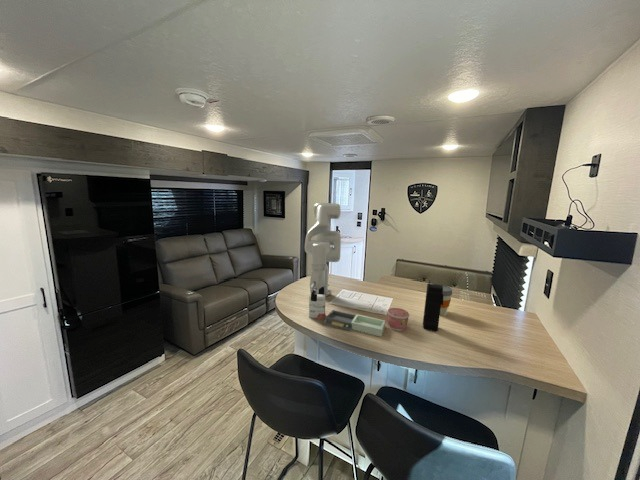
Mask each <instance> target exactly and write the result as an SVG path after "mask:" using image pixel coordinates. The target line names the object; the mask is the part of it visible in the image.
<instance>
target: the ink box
mask: <svg viewBox="0 0 640 480" xmlns="http://www.w3.org/2000/svg"><path fill="white" fill-rule="evenodd" d="M326 297H327V296H326V295H323V294H317V301H316V302H315V301H311V293H309V298H308V317H309V318H313V319H326V299H327V298H326Z"/></svg>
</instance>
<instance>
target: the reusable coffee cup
mask: <svg viewBox="0 0 640 480" xmlns="http://www.w3.org/2000/svg"><path fill="white" fill-rule="evenodd" d="M433 284H434V285H442V286H443V306H442V305H441V309H440V316H445V315H447V311H448V309H449V307H450V304H451V300H452V299H451V297H452V295H453V288H452V287H450V286H448V285H445V284H441V283H433Z"/></svg>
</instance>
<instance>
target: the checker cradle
mask: <svg viewBox="0 0 640 480" xmlns="http://www.w3.org/2000/svg"><path fill="white" fill-rule="evenodd" d="M355 316H356V314H353V313H349V312H344V311H340V310H336V309H332V310H331V311H330V312H329V313H328V314H327V315H326V316H325V321H324V323H323V325H324V326H327V327H328V326H329V327H332V328H336V329H341V330H344V331H349V332H351V331H352V324H351V322H352V320H353V319H354V317H355Z"/></svg>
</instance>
